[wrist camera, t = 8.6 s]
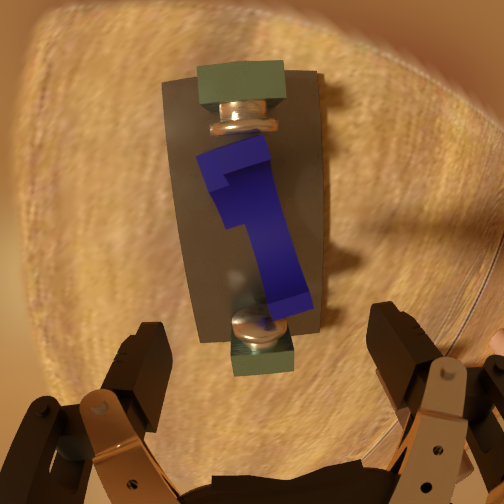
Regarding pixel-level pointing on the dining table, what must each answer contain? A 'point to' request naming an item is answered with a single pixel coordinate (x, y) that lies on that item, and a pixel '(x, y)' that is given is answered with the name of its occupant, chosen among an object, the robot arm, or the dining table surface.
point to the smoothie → (498, 342)
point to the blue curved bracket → (257, 219)
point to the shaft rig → (237, 239)
